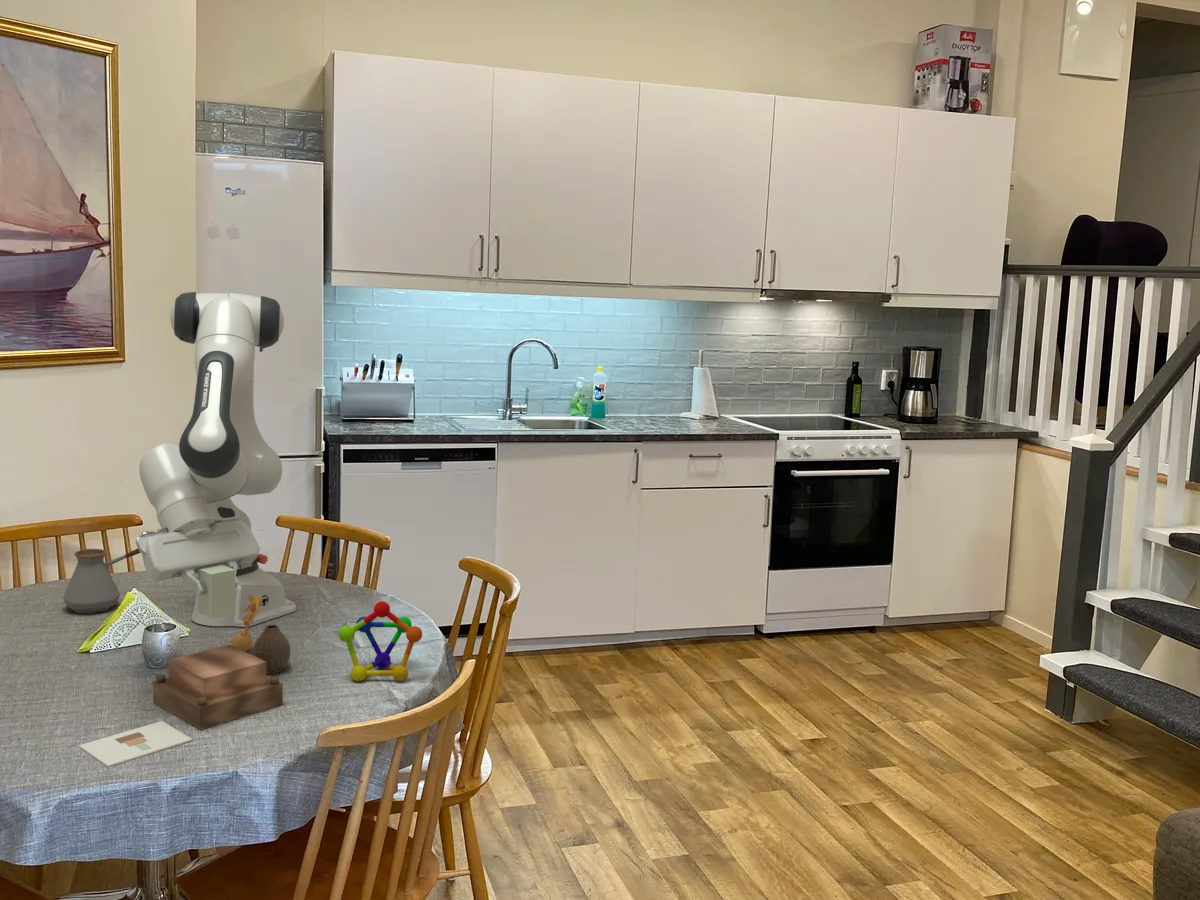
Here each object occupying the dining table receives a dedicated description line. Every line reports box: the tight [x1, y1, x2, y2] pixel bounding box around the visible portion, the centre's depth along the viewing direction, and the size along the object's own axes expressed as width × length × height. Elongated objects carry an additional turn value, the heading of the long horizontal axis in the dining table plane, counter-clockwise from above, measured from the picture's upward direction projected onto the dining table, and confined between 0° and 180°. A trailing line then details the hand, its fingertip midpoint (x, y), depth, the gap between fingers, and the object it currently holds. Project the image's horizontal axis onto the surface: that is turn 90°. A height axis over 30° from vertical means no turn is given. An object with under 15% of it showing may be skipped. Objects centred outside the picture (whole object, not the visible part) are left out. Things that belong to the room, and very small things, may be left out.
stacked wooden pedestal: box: [152, 644, 284, 731], centre depth 195 cm, size 16×16×8 cm
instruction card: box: [78, 720, 193, 768], centre depth 178 cm, size 14×10×1 cm
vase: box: [252, 624, 291, 674], centre depth 212 cm, size 7×7×9 cm
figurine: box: [231, 594, 263, 652], centre depth 221 cm, size 8×6×12 cm
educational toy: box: [337, 600, 423, 682], centre depth 212 cm, size 16×13×15 cm
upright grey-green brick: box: [198, 564, 235, 619], centre depth 192 cm, size 4×4×8 cm
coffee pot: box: [62, 547, 142, 614], centre depth 245 cm, size 21×12×15 cm, turn 113°
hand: (218, 589), depth 192 cm, fingers closed on upright grey-green brick, 4 cm apart
